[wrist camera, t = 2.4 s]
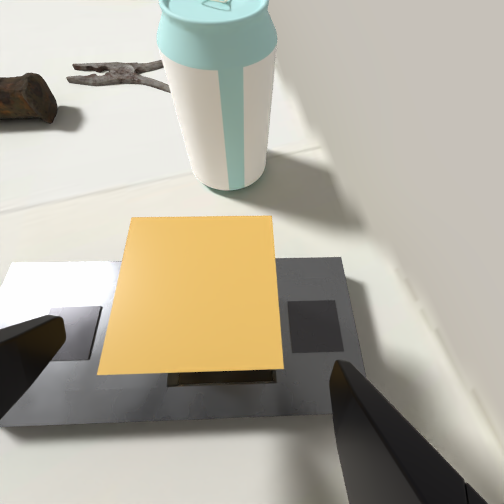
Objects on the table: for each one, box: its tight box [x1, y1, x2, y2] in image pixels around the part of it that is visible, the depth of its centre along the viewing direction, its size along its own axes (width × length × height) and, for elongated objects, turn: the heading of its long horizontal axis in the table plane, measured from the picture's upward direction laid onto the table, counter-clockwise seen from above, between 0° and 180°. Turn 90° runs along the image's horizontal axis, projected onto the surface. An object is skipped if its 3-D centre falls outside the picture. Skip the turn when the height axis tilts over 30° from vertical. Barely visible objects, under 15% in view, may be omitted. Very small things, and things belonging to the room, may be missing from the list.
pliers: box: [66, 60, 171, 93], centre depth 29 cm, size 10×1×20 cm
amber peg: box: [97, 216, 284, 375], centre depth 12 cm, size 4×4×11 cm
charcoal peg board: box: [0, 257, 366, 427], centre depth 15 cm, size 9×22×3 cm, turn 92°
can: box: [157, 0, 277, 190], centre depth 18 cm, size 7×7×12 cm
